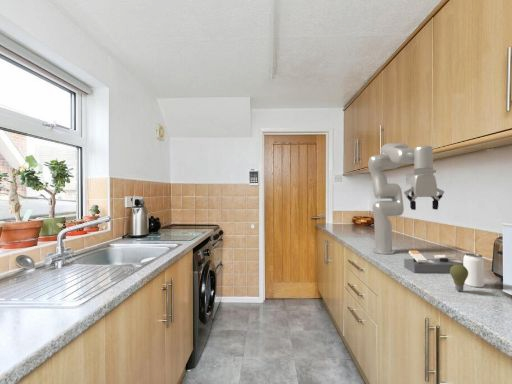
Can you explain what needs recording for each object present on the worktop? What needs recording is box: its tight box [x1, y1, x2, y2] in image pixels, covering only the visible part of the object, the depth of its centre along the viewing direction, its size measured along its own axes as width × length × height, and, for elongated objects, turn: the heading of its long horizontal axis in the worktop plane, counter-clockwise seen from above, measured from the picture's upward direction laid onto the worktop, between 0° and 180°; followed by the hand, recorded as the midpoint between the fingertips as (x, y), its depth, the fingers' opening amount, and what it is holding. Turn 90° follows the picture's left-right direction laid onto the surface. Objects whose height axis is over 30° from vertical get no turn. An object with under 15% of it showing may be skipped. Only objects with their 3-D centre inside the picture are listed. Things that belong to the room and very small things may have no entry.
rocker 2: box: [433, 254, 455, 259], centre depth 131 cm, size 9×4×1 cm, turn 176°
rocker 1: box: [408, 250, 428, 262], centre depth 132 cm, size 9×4×1 cm, turn 177°
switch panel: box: [403, 257, 463, 274], centre depth 131 cm, size 10×24×6 cm, turn 86°
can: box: [462, 252, 485, 289], centre depth 110 cm, size 6×6×12 cm
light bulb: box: [449, 264, 468, 292], centre depth 104 cm, size 6×6×10 cm
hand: (424, 209), depth 129 cm, fingers open, 9 cm apart
